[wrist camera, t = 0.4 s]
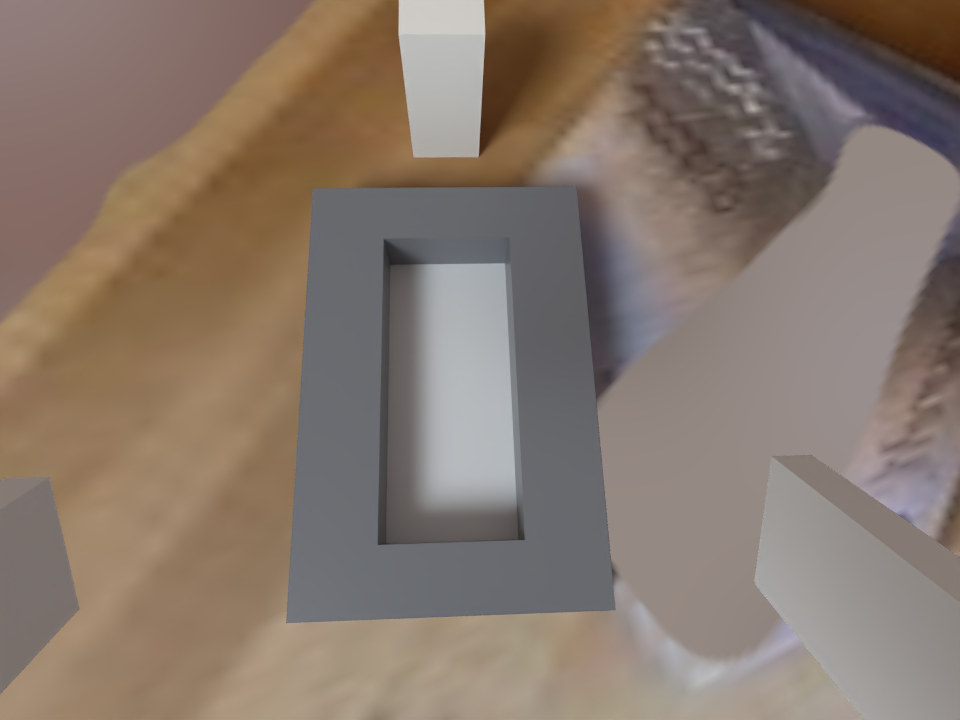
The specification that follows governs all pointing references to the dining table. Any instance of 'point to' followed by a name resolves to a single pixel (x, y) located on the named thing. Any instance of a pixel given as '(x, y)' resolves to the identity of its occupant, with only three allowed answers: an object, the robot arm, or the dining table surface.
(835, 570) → the robot arm
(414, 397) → the block
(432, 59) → the plug
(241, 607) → the dining table surface
